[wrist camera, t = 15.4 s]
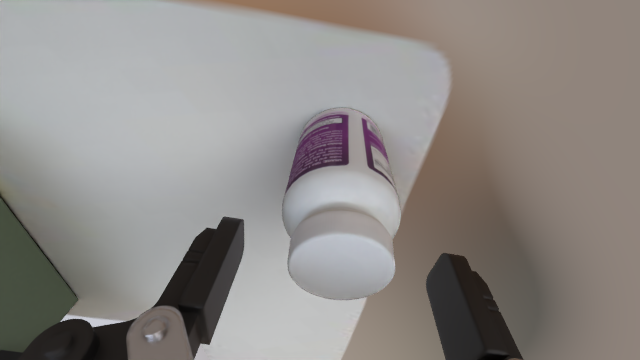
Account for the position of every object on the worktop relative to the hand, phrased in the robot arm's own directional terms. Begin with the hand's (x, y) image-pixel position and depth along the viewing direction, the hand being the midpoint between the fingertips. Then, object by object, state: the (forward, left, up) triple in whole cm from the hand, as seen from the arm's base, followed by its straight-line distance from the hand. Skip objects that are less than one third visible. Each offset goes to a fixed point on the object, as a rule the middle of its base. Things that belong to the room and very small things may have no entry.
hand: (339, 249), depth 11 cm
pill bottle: (0, 0, -9) cm, 9 cm away
